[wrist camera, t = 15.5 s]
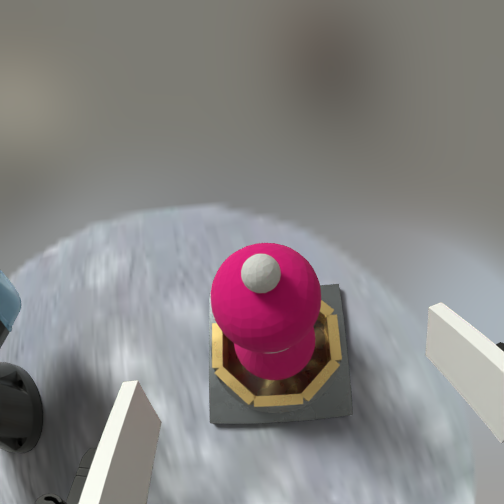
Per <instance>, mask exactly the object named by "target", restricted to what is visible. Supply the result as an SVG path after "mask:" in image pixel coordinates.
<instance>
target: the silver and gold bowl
mask: <svg viewBox="0 0 504 504" xmlns="http://www.w3.org/2000/svg"><path fill="white" fill-rule="evenodd" d="M320 289H321V308H320V312H319V315H318V318H317V320H316V322H315V324H314V326H313V327H314V331H315V348H314V352H313V355H312V357H311V359H310V361H309V362H308V364H307V365H306V366H305V367H304V368H303V369H302V370H301V371H300V372H298V373H297V374H296V375H294V376H291V377H289V378H286V379H282V380H267V379H262V378H260V377H257V376H255V375H253V374H252V373H250V372H249V371H248V370H247V369H246V368H245V367H244V366H243V365H242V363H241V362H240V361H239V358H238V356H237V354H236V351H235V347H234V343H233V342H232V341H231V340H230V339H229V338H227V337H226V336H225V334H224V333H223V332H222V330H221V329H220V328H219V326H218V325H217V323H216V321H215V318H214V315H213V313H212V307H211V294H210V313H209V403H210V423H220V424H247V423H276V422H292V421H305V420H315V419H325V418H333V417H341V416H348V415H353V412H352V398H351V385H350V373H349V362H348V352H347V343H346V334H345V326H344V318H343V310H342V302H341V295H340V288H339V284H333V285H322V286H320Z"/></svg>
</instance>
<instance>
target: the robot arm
mask: <svg viewBox="0 0 504 504" xmlns="http://www.w3.org/2000/svg"><path fill="white" fill-rule="evenodd" d="M20 309H21V299H20V296H19V294H18V292H17V290H16V289H15V287H14V286H13V284H12V283H11V282H10V281H9V279H8V278H7V277H6V276H5V274H4V273H3V272H2V271H1V270H0V348H1V346H2V344H3V343H4V341H5V339H6V337H7V336H8V334H9V332H11V331H12V325H13V323H14V321H15V319H16V317H17V316H18V314H19V312H20ZM428 310H429V311H428V329H427V343H426V354H425V355H426V356H427V357H428V359H429V360H430V361H431V362H432V363H433V364H434V365H435V366H436V367H437V368H438V370H439V371H440V372H441V373H442V374H443V375H444V376H445V377H446V379H447V380H448V381H449V382H450V383H451V384H452V385H453V387H454V388H455V389H456V390H457V391H458V392H459V393H460V395H461V396H462V397H463V398H464V399H465V400H466V401H467V403H468V404H469V405H470V406H471V407H472V408H473V410H474V411H475V412H476V413H477V414H478V416H479V417H480V418H481V419H482V420H483V422H484V423H485V424H486V425H487V426H488V428H489V429H490V430H491V431H492V433H493V434H494V435H495V436H496V437H497V439H498V440H499V441H500V442H501V444H502V443H503V442H504V343H501V342H500V343H498V344H496V345H495V344H494V343H493V342H491V341H490V340H489V339H488V338H487V337H485V336H484V335H483V334H481V333H480V332H479V331H478V330H476V329H475V328H474V327H473V326H472V325H470V324H469V323H468V322H466V321H465V320H464V319H463V318H461V317H460V316H459V315H457V314H456V313H455V312H454V311H452V310H451V309H450V308H448V307H447V306H446V305H444V304H443V303H438V304H436V305H433V306H431V307H429V308H428ZM42 419H43V418H42V406H41V400H40V396H39V393H38V390H37V388H36V385H35V383H34V381H33V380H32V378H31V377H30V375H29V374H28V373H27V372H26V371H25V370H24V369H22V368H21V367H19V366H17V365H13V364H10V363H6V362H0V448H1V449H3V450H5V451H8V452H12V453H25V452H28V451H30V450H31V449H32V448H33V447H34V446H35V445H36V444H37V442H38V440H39V437H40V434H41V430H42ZM160 427H161V420H160V419H159V417H158V415H157V414H156V412H155V410H154V409H153V407H152V405H151V403H150V402H149V400H148V398H147V396H146V394H145V393H144V391H143V389H142V387H141V385H140V383H139V381H138V380H136V381H128V382H123V383H122V386H121V388H120V391H119V393H118V396H117V398H116V401H115V403H114V406H113V408H112V411H111V413H110V416H109V418H108V421H107V424H106V426H105V429H104V432H103V434H102V437H101V440H100V442H99V445H98V448H90V449H89V450H88V451H87V452H86V454H85V455H84V456H83V457H82V460H81V463H80V465H79V469H78V471H77V473H76V477H75V479H74V482H73V484H72V487H71V490H70V493H69V496H68V499H67V501H66V502H64V501H63V500H62V499H61V498H60V497H59V496H57V495H55V494H45V495H42V496H41V497H40V498H38V500H37V501H36V502H35V504H146V503H147V497H148V491H149V485H150V480H151V474H152V468H153V463H154V458H155V453H156V447H157V442H158V437H159V432H160Z"/></svg>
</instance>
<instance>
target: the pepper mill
mask: <svg viewBox="0 0 504 504" xmlns="http://www.w3.org/2000/svg"><path fill="white" fill-rule="evenodd" d="M211 307H212V313H213V315H214V318H215V321H216V323H217V325H218V326H219V328H220V329H221V330H222V332H223V333H224V334H225V336H226V337H227V338H229V339H230V340H231V341H232V342H233V343H234V347H235V351H236V354H237V356H238V358H239V361H240V362H241V363H242V365H243V366H244V367H245V368H246V369H247V370H248V371H249V372H250V373H252V374H253V375H255V376H257V377H260V378H262V379H267V380H282V379H286V378H289V377H291V376H294V375H296V374H297V373H298V372H300V371H301V370H302V369H303V368H304V367H305V366H306V365H307V364H308V362H309V361H310V359H311V357H312V355H313V352H314V348H315V331H314V327H313V326H314V324H315V322H316V320H317V318H318V315H319V312H320V308H321V289H320V284H319V281H318V278H317V276H316V273H315V271H314V269H313V268H312V266H311V265H310V264H309V262H308V261H307V260H306V259H305V258H304V257H303V256H302V255H300V254H299V253H298V252H296V251H294V250H293V249H291V248H289V247H287V246H284V245H280V244H275V243H259V244H254V245H250V246H246V247H244V248H242V249H240V250H238V251H236V252H235V253H233V254H232V255H231V256H229V257H228V258H227V259H226V260H225V261H224V262H223V264H222V265H221V267H220V268H219V270H218V271H217V274H216V276H215V278H214V280H213V284H212V289H211Z"/></svg>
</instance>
